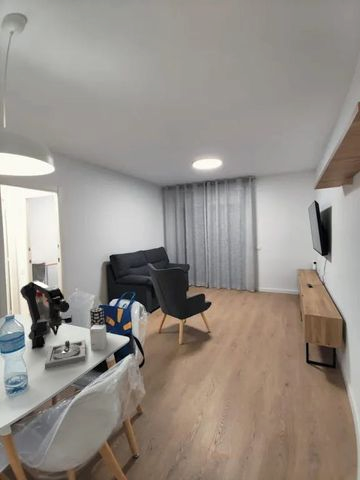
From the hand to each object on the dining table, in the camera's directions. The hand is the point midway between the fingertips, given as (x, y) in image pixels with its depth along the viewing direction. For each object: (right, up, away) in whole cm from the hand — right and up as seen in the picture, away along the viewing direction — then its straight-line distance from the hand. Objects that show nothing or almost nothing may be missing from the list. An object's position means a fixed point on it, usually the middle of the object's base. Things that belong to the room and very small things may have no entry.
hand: (55, 335), depth 143 cm
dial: (+8, -10, -2) cm, 13 cm away
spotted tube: (+19, -10, +17) cm, 28 cm away
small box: (+23, -10, +7) cm, 27 cm away
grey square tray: (+8, -11, -2) cm, 14 cm away
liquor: (-25, -10, +29) cm, 39 cm away
